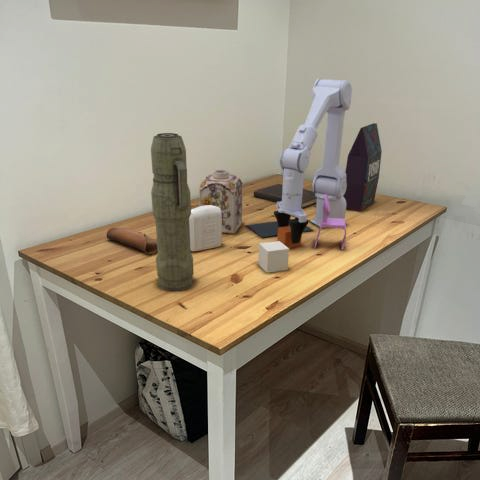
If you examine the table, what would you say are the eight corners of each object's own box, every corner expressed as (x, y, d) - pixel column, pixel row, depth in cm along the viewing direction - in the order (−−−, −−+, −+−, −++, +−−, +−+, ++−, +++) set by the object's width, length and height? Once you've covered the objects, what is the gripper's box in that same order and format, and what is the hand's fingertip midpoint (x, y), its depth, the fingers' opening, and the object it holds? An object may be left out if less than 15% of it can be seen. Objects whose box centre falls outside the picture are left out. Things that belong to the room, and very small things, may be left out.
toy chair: (344, 251, 141) (351, 200, 133) (314, 249, 142) (318, 198, 135) (344, 241, 148) (350, 192, 140) (315, 239, 149) (320, 190, 142)
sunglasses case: (168, 245, 142) (158, 229, 136) (154, 263, 139) (143, 247, 134) (128, 232, 151) (117, 216, 146) (114, 248, 149) (102, 233, 144)
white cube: (278, 261, 134) (279, 240, 131) (287, 269, 129) (289, 248, 126) (258, 264, 132) (258, 243, 129) (266, 272, 127) (267, 251, 124)
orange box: (293, 241, 148) (294, 225, 145) (300, 246, 144) (302, 230, 142) (277, 243, 146) (277, 227, 143) (284, 248, 142) (285, 232, 140)
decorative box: (375, 201, 186) (387, 123, 172) (361, 212, 174) (373, 129, 160) (355, 198, 190) (365, 121, 176) (339, 208, 177) (349, 127, 164)
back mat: (294, 220, 165) (294, 218, 165) (312, 231, 156) (312, 229, 156) (246, 226, 159) (246, 225, 159) (262, 238, 150) (262, 236, 149)
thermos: (176, 296, 115) (168, 140, 97) (147, 280, 122) (134, 133, 104) (205, 285, 120) (201, 136, 103) (175, 271, 127) (167, 129, 110)
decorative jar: (208, 220, 164) (207, 165, 155) (242, 222, 162) (243, 167, 153) (199, 231, 154) (197, 174, 145) (235, 234, 152) (235, 176, 143)
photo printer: (216, 242, 146) (216, 201, 140) (224, 246, 143) (223, 205, 137) (186, 248, 141) (184, 206, 135) (193, 253, 138) (191, 210, 132)
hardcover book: (278, 189, 200) (278, 183, 199) (325, 200, 187) (326, 194, 186) (253, 196, 190) (253, 190, 188) (301, 208, 176) (302, 202, 175)
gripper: (268, 188, 142) (266, 232, 148) (292, 201, 130) (289, 248, 137) (289, 185, 144) (286, 229, 151) (315, 198, 133) (310, 245, 139)
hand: (289, 238), depth 144 cm, fingers open, 7 cm apart
